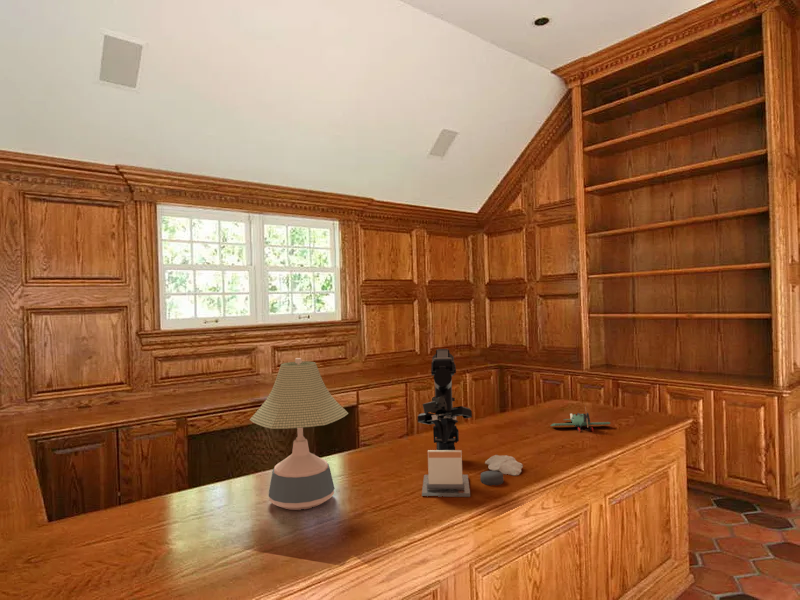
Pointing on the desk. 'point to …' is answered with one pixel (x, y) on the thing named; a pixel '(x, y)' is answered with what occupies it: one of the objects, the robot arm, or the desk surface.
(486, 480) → the grey river pebble
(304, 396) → the desk lamp
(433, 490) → the grey flat slab
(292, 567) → the desk surface
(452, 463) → the bowl
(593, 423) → the toy airplane
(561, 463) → the desk surface
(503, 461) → the decorative stone
